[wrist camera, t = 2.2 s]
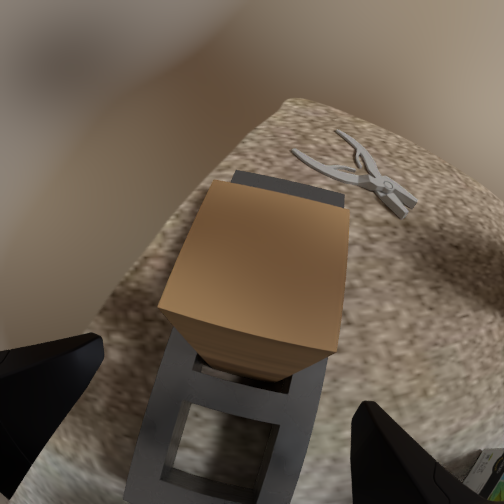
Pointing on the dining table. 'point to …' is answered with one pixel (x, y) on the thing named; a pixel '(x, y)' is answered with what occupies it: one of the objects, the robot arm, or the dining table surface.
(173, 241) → the dining table surface
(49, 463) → the dining table surface
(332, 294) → the peg
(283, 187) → the grey long block
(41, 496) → the dining table surface
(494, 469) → the tea box
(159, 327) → the dining table surface
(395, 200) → the pliers
